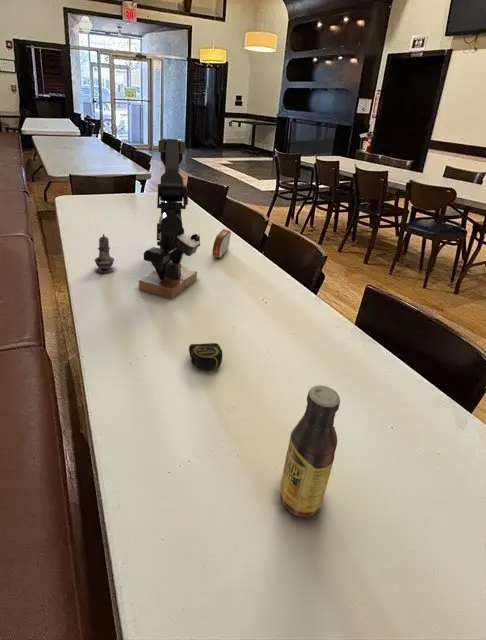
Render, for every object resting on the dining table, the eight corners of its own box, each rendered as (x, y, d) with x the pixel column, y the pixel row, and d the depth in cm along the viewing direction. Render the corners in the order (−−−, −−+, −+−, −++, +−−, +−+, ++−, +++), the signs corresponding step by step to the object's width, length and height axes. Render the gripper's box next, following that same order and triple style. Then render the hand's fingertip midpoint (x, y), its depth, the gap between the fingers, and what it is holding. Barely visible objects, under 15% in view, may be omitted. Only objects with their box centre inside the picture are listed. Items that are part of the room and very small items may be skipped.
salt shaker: (117, 267, 132) (116, 232, 128) (110, 275, 127) (109, 238, 122) (99, 265, 132) (97, 230, 128) (91, 272, 127) (90, 236, 123)
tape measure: (218, 354, 93) (219, 339, 91) (224, 373, 87) (225, 358, 85) (188, 355, 91) (189, 341, 90) (191, 375, 85) (192, 359, 84)
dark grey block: (157, 273, 123) (157, 260, 121) (160, 271, 124) (160, 258, 123) (178, 279, 121) (178, 265, 119) (180, 277, 122) (181, 263, 120)
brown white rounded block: (222, 246, 157) (224, 225, 154) (230, 248, 157) (232, 227, 154) (210, 260, 144) (212, 237, 141) (219, 262, 143) (221, 239, 140)
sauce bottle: (274, 482, 63) (292, 375, 56) (314, 481, 64) (337, 376, 56) (284, 523, 57) (305, 410, 50) (327, 522, 58) (355, 410, 50)
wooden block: (165, 271, 132) (165, 262, 131) (196, 279, 128) (197, 270, 127) (138, 289, 119) (138, 279, 118) (172, 299, 115) (172, 289, 114)
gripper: (179, 239, 106) (177, 293, 112) (210, 222, 122) (207, 270, 128) (142, 231, 110) (142, 283, 115) (177, 215, 126) (175, 262, 132)
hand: (169, 274), depth 122 cm, fingers open, 7 cm apart
